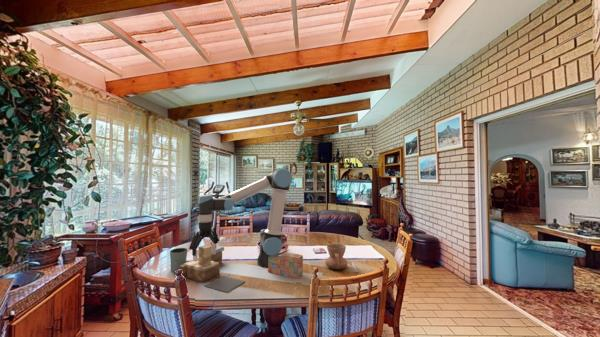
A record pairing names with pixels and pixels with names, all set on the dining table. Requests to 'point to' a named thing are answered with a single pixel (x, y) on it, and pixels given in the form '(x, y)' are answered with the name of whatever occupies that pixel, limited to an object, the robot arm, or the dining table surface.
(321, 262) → the dining table surface
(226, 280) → the mat
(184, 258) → the grey cup
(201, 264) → the lid
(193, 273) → the brown wooden open box
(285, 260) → the brown patterned box
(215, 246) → the robot arm
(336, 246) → the ceramic jug
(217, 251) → the light grey bar
